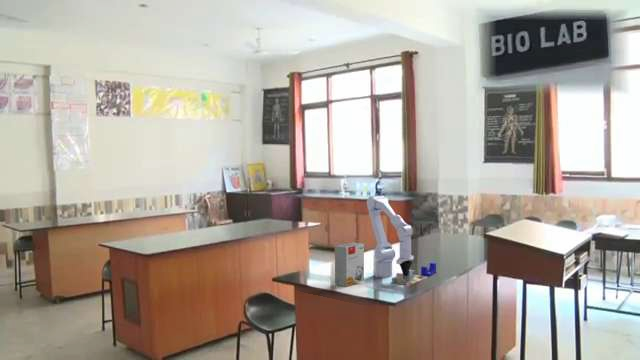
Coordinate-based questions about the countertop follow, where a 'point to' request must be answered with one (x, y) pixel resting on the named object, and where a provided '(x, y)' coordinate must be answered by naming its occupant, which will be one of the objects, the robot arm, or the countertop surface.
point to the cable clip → (428, 272)
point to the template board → (401, 278)
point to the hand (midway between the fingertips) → (405, 275)
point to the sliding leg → (409, 276)
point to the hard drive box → (349, 264)
